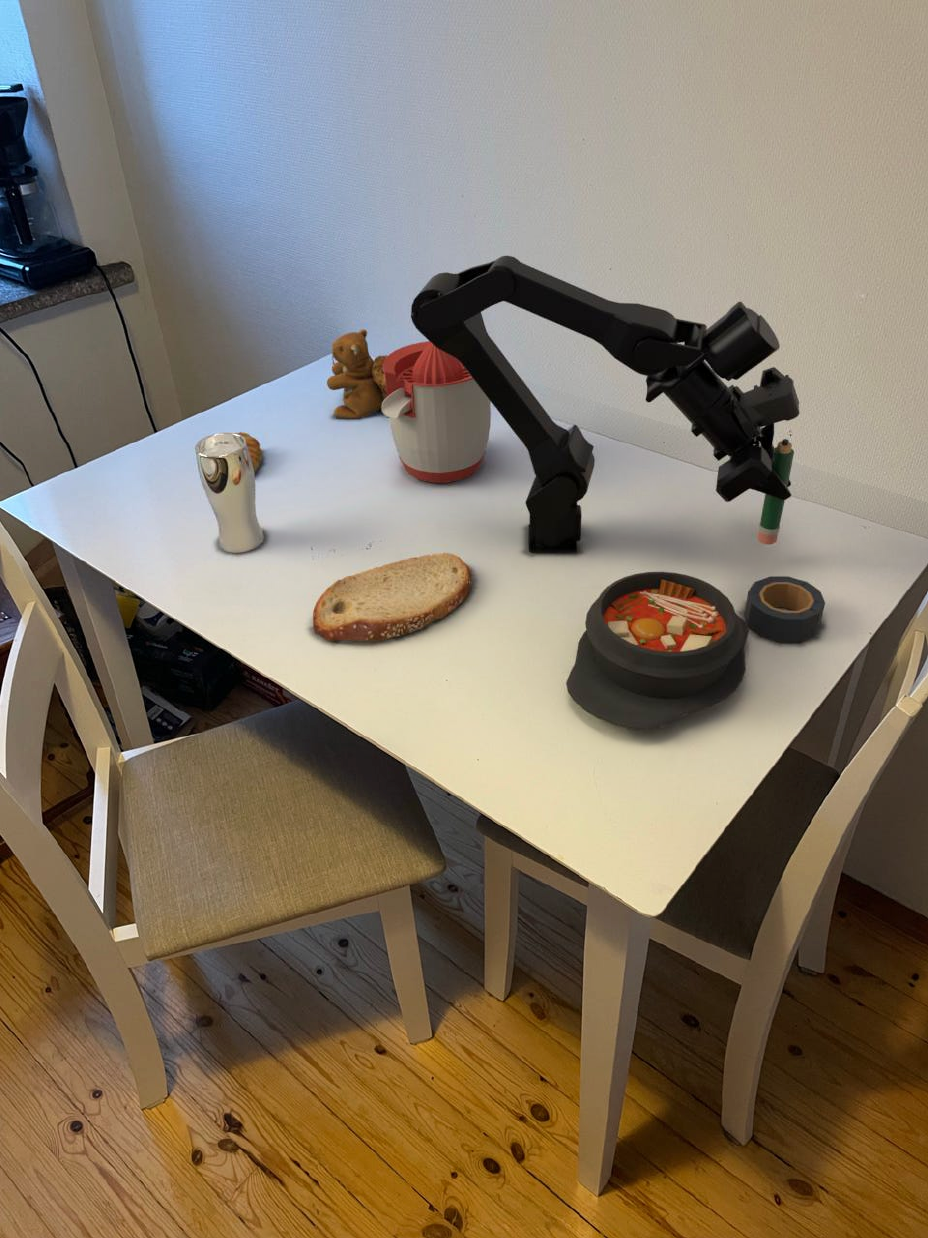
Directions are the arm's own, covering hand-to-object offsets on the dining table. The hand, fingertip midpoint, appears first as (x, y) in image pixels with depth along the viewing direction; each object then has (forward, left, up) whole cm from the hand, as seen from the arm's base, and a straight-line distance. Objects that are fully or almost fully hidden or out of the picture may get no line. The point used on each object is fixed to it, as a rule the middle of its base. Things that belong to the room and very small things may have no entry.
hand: (787, 492), depth 117 cm
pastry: (-76, +28, -11) cm, 82 cm away
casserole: (-17, -21, -11) cm, 29 cm away
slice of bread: (-48, -8, -11) cm, 50 cm away
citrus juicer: (-45, +26, -11) cm, 53 cm away
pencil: (-1, 0, -7) cm, 7 cm away
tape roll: (-1, -12, -11) cm, 16 cm away
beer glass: (-71, +6, -11) cm, 72 cm away
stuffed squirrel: (-58, +47, -11) cm, 76 cm away
